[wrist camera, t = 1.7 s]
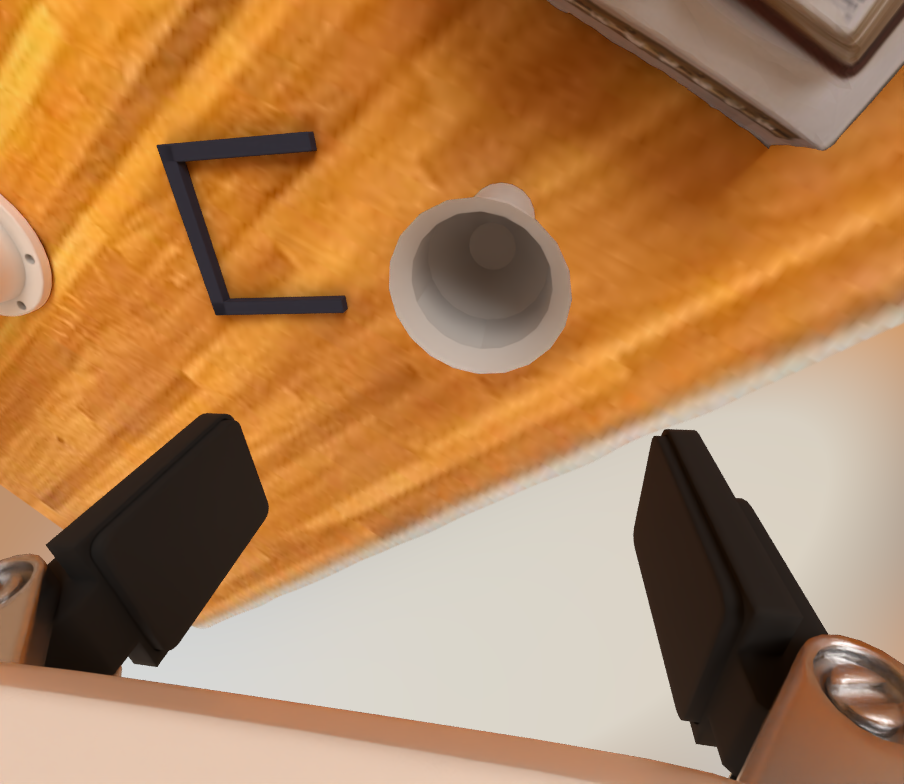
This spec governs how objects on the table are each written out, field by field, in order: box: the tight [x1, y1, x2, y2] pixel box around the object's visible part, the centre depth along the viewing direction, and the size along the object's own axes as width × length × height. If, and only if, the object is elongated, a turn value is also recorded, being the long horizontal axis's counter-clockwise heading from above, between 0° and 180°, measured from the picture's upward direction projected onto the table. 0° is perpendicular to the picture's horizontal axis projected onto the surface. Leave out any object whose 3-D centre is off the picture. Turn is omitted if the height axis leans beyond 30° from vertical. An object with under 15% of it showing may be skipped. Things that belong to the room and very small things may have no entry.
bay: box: [157, 132, 348, 315], centre depth 35 cm, size 12×13×1 cm
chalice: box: [389, 183, 572, 374], centre depth 25 cm, size 7×7×18 cm
